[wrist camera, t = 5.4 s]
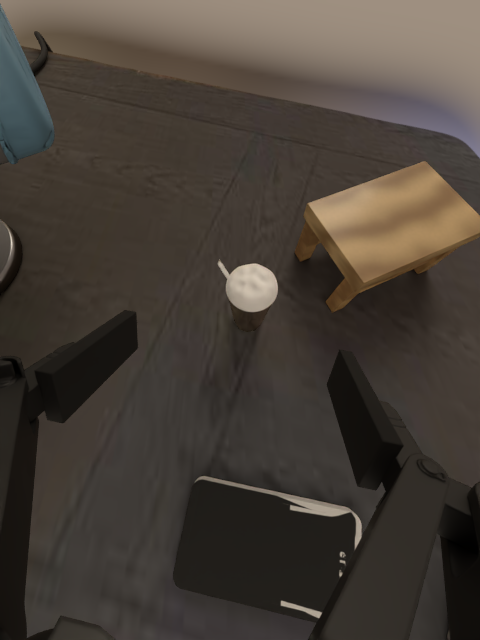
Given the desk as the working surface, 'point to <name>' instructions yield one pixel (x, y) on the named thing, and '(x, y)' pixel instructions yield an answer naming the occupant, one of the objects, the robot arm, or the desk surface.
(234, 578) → the smartphone
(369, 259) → the stool
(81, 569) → the desk surface
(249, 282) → the milkshake
